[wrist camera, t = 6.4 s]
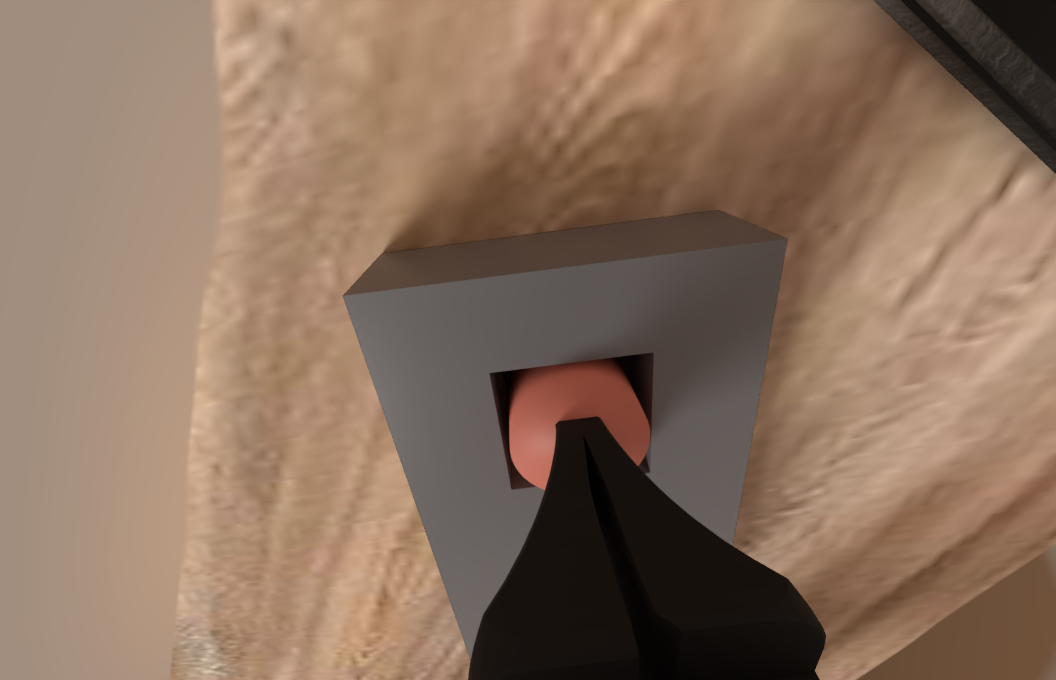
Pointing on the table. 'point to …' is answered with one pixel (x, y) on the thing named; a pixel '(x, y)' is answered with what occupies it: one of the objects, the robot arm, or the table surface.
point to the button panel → (557, 338)
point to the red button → (571, 411)
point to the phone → (995, 57)
